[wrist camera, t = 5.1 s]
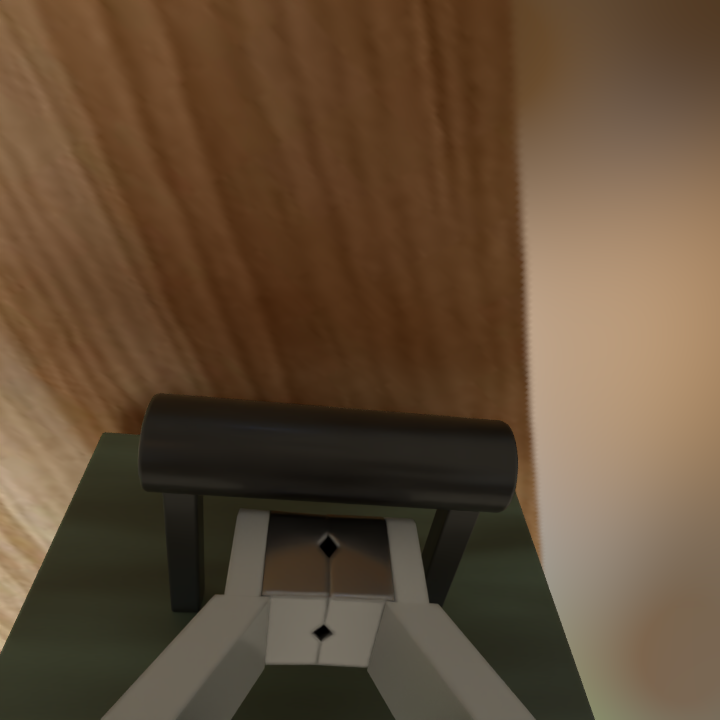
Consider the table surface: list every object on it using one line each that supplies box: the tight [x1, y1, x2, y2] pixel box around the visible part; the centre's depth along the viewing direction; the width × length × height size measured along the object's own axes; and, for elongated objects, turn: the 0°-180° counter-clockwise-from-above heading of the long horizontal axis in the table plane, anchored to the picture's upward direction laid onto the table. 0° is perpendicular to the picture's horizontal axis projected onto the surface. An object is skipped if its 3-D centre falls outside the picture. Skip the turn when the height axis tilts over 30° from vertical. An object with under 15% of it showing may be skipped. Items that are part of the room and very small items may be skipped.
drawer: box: [0, 393, 595, 720], centre depth 16 cm, size 20×11×8 cm, turn 172°
